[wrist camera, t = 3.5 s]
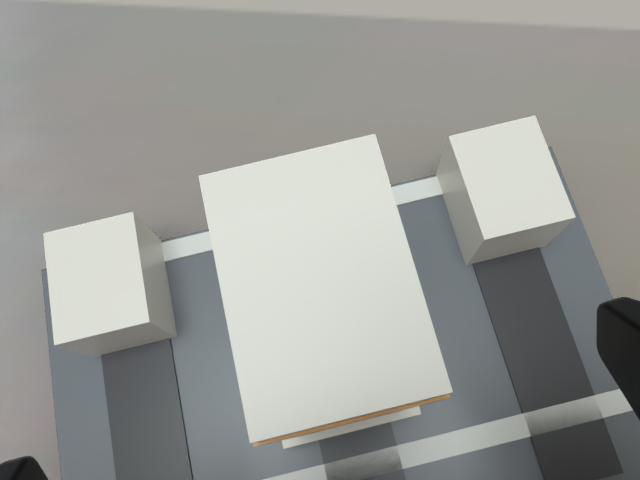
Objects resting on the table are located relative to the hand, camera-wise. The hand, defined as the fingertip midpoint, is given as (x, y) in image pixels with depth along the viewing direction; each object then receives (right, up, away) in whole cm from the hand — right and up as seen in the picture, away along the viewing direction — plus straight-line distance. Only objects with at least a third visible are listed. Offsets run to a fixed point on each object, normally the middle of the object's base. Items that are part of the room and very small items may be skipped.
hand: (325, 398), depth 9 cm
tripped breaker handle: (0, -1, +7) cm, 7 cm away
